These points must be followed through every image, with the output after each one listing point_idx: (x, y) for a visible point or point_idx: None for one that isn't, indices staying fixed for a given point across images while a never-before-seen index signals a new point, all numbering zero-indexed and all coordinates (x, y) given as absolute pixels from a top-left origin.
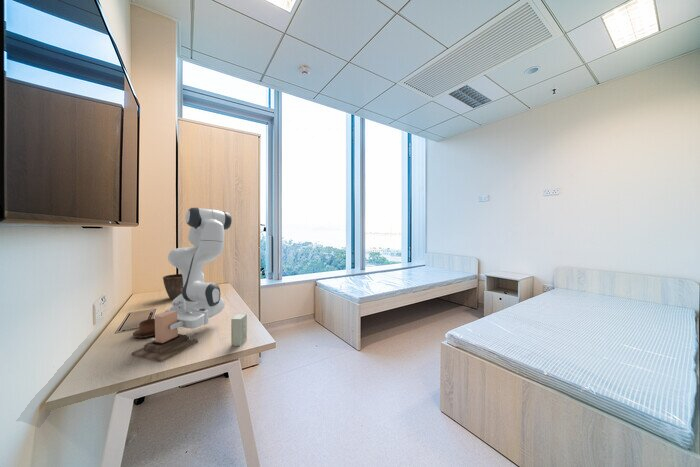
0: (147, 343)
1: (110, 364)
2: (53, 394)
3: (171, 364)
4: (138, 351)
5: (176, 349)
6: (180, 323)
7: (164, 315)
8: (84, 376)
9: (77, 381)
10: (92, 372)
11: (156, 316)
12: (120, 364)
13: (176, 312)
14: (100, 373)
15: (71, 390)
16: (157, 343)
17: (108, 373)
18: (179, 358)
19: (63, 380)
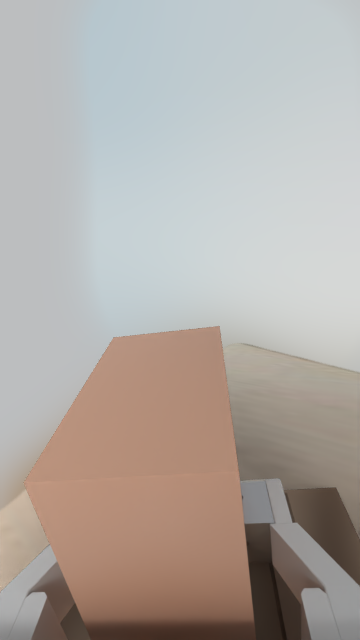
0: (290, 513)
1: (310, 429)
2: (252, 347)
3: (32, 512)
4: (312, 506)
5: (71, 621)
6: (5, 599)
7: (114, 353)
8: (287, 381)
9: (270, 370)
10: (295, 393)
11: (192, 334)
12: (270, 441)
13: (38, 487)
14: (261, 398)
15: (232, 359)
16: (276, 594)
17: (235, 406)
18: (14, 571)
19: (314, 361)
